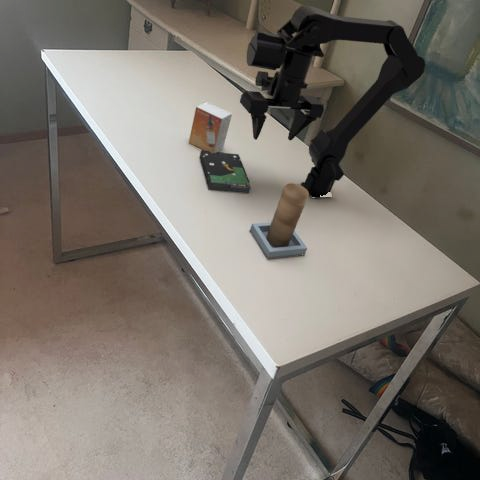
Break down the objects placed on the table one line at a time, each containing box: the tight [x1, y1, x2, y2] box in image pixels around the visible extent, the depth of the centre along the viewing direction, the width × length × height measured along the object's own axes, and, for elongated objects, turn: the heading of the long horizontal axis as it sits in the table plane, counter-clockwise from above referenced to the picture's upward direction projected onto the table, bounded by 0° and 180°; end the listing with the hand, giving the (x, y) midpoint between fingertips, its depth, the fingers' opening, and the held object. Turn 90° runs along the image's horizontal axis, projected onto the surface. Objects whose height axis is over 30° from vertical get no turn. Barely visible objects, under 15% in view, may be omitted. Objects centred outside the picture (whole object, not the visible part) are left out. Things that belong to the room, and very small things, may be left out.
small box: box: [188, 101, 233, 154], centre depth 120 cm, size 8×6×10 cm
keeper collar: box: [249, 221, 308, 260], centre depth 97 cm, size 9×9×2 cm
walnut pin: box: [266, 182, 310, 248], centre depth 93 cm, size 5×5×13 cm
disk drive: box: [199, 149, 251, 194], centre depth 113 cm, size 10×3×15 cm
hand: (272, 139), depth 106 cm, fingers open, 9 cm apart
